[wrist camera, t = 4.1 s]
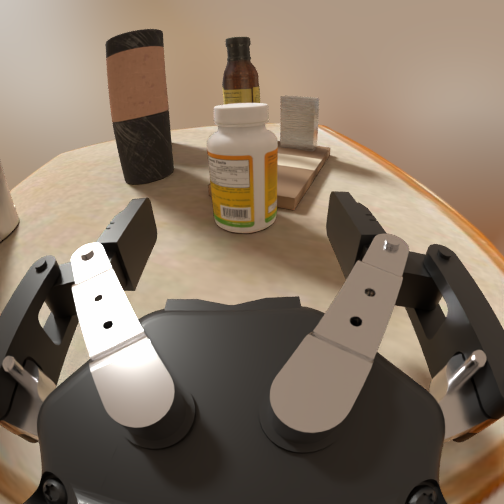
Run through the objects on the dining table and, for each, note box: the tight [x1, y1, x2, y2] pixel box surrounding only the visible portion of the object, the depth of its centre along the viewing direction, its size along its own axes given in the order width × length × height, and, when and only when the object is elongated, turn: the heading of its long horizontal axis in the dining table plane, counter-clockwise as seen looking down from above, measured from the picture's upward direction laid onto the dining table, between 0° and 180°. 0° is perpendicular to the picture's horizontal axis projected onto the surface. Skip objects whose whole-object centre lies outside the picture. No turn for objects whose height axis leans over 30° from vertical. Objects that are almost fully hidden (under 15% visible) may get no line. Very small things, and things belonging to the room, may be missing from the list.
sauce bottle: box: [222, 37, 260, 105], centre depth 40 cm, size 6×6×20 cm
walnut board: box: [208, 141, 330, 210], centre depth 33 cm, size 21×9×1 cm, turn 156°
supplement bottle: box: [207, 103, 278, 233], centre depth 21 cm, size 5×5×10 cm
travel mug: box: [106, 29, 174, 184], centre depth 29 cm, size 8×8×20 cm
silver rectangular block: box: [280, 96, 319, 152], centre depth 36 cm, size 3×5×8 cm, turn 66°
